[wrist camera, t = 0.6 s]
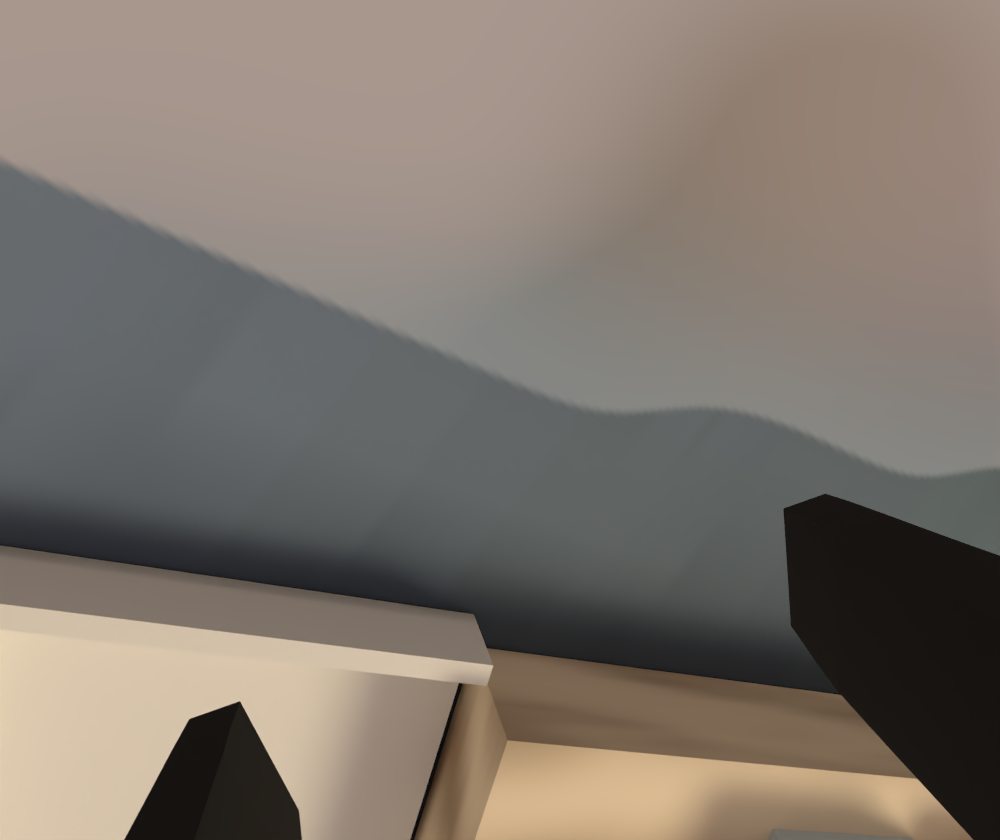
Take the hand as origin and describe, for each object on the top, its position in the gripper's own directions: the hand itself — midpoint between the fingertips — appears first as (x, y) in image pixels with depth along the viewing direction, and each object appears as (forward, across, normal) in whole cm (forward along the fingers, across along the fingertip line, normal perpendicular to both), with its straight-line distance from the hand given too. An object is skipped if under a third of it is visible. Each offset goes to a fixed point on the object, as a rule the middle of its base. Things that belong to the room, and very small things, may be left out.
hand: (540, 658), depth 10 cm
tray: (+9, +9, +8) cm, 15 cm away
